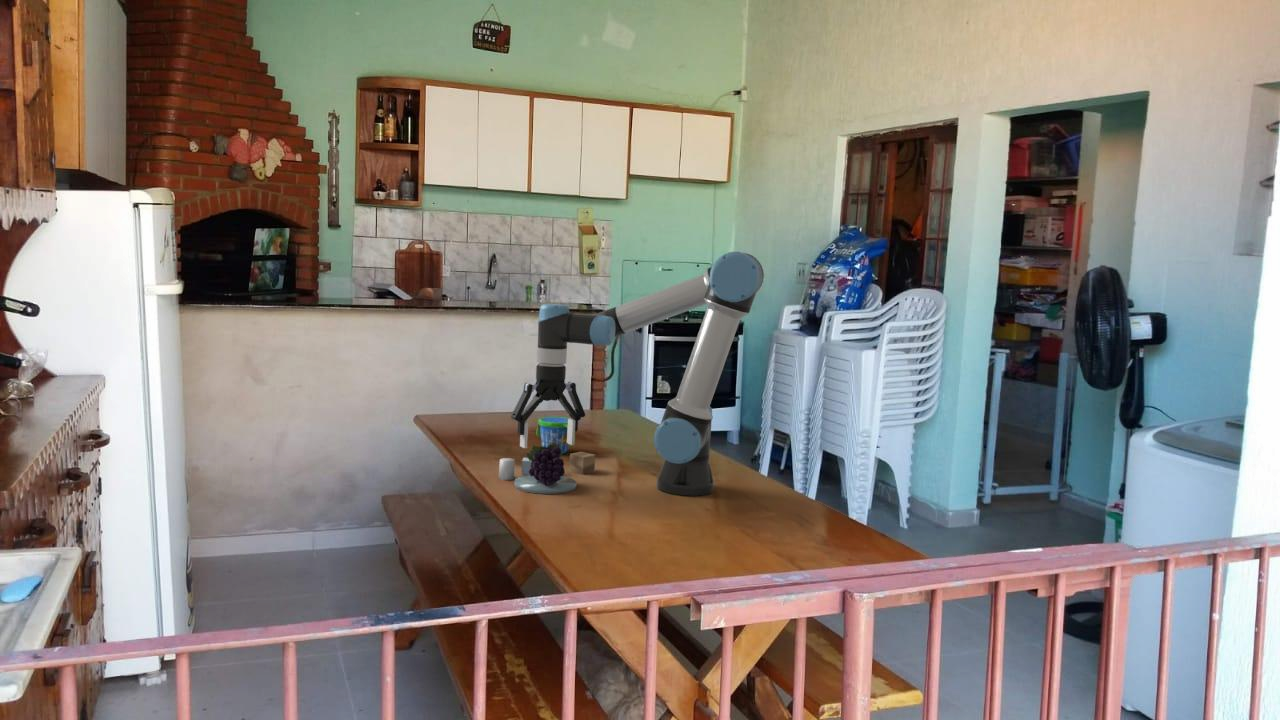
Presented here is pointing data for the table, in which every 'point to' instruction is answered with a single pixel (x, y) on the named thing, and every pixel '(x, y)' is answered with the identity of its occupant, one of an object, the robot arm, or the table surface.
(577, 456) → the walnut block
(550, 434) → the snack cup
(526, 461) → the dusty blue block
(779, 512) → the table surface
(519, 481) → the plate
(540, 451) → the fruit
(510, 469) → the grey plastic peg
